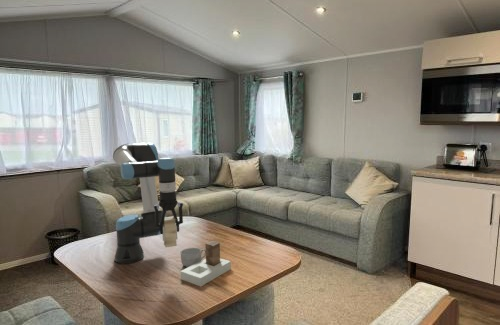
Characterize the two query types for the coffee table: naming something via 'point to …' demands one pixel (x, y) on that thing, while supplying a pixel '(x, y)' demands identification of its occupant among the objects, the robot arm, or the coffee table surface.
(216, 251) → the walnut pin
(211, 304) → the coffee table surface
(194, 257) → the teacup
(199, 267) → the bore block
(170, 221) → the pin
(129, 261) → the robot arm
